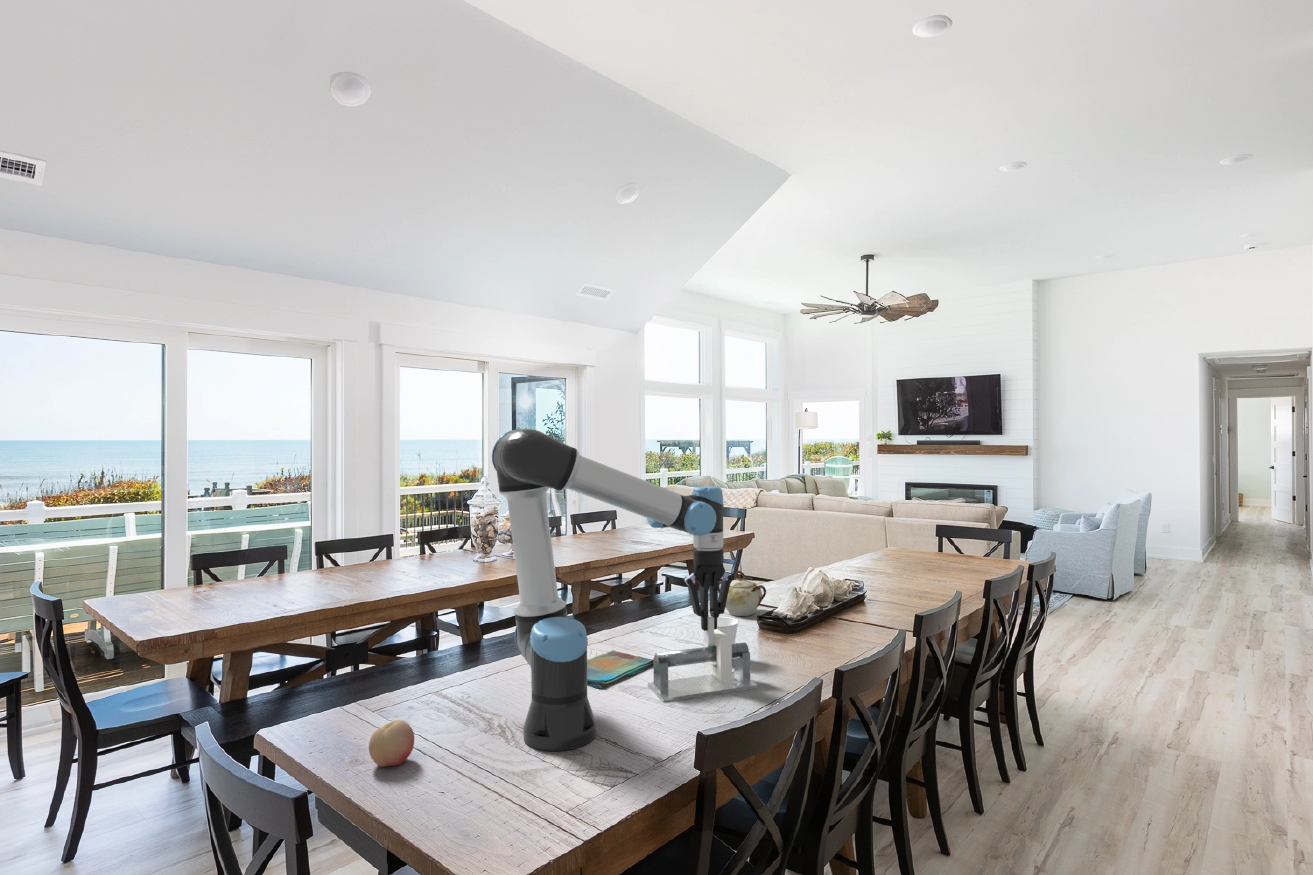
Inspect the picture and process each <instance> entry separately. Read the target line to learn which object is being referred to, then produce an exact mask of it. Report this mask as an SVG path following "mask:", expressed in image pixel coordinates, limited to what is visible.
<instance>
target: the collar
mask: <svg viewBox="0 0 1313 875" xmlns="http://www.w3.org/2000/svg"><path fill="white" fill-rule="evenodd" d="M703 645H704V646H703V647H711V646H713V645H716V646H717V662H715V661H712V662H705V663H703V664H704V667H703V668H704V669H705V670H707V672H709V673H711V675H712V674H713V675H714V676H716V677H717V678H718V679H720V680H727V679H732V672H733V663H732V662H733V659H732V638H731V637H729V636H727V635H726V634H724V633H723V632H721V631H719V630H718V629H714V644H707V643H706V642H704V641H703Z"/></svg>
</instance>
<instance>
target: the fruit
mask: <svg viewBox="0 0 1313 875" xmlns="http://www.w3.org/2000/svg"><path fill="white" fill-rule="evenodd" d="M414 745H415V732H414V730H413V729H412V726H410V724H409V723H407V722H406V720H405V721H404V720H402V719H395V720H391V721H390V722H388V723H386V724H384V725H383V726H380V727H379V728H378V729H376V730H374V732H373V733H372V735H371V737H370V739H369V743H368V753H369V755H370V758H371V759H372V761H373V762H374V763H375V764H376V765H377V766H379V767H383V768H384V767H389V766H390V767H396V766H399V765H401V764H403V763H404V762H405V761H406V760H408V758H409V757H410V755H411V754H412V752H413V749H414Z"/></svg>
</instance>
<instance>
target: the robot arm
mask: <svg viewBox="0 0 1313 875" xmlns="http://www.w3.org/2000/svg"><path fill="white" fill-rule="evenodd" d="M491 462H492V465H493V468H494V470H495V471H496V476H497V484H498V492H499V494H500V495H502V496H503V497H505V498H506V501H507V507H508V516H509V522H510V532H511V538H512V546H513V554H514V556H513V557H514V561H515V562H514V563H515V571H516V579H517V586H518V593H519V601H520V603H519V604H518V606H517V607H516V608H515V609H514V617H515V624H516V625H515V630H514V641H515V646H516V649H517V650H518V652H519V653H520V655H521V657H522V658H524V660H525V661H526V662H527V665H529V667H530V671H531V672H530V674H531V675H530V676H531V677H530V678H531V682H530V683H531V700H530V704H529V708H528V711H527V714H526V718H525V721H524V724H523V732H522V733H523V741H524V743H525V744H526V745H527V746H529V747H531V748H534V749H537V750H542V751H548V752H549V751H550V752H551V751H553V752H559V751H568V750H574V749H577V748H581V747H583V746H586V745H587V744H588V743H590V742H592V741H593V740H594V738H595V737H596V735H597V723H596V719H595V716H594V713H593V710H592V706H591V704H590V701H589V698H588V697H589V696H588V686H587V660H588V645H589V644H588V643H589V641H588V637H587V629H586V627H585V625H584V624H583V623H582V622H581V621H579V620H577V619H574V618H572V619H571V618H570V617H569V616H568V611H567V602H566V601H565V600H563V599H562V598H560V597H559V592H558V583H557V577H556V569H555V560H554V551H553V544H552V536H551V530H550V520H549V512H548V511H549V510H548V503H547V497H546V495H547V492H548V491H549V489H553V490H556V491H559V492H563V491H564V490H570V491H573V492H575V493H578V494H580V495H584V496H587V497H588V498H592V499H595V500H598V501H601V502H603V503H605V504H608V505H611V506H614V507H617V508H619V509H622V510H625V511H628V512H630V513H633V514H636V515H639V516H641V517H643V518H646V519H647V523H648V525H649V526H650V527H651V528H654V529H664V528H670V529H674V530H678V531H680V532H681V531H682V532H685V533H687V534H689V535H692V538H693V541H692V542H693V543H692V544H693V546H692V547H694V549H693V550H692V551H693V568H692V571H691V574H690V575H689V576H684V577H683V582H684V583H685V585H686V586H687V590H688V593H689V594H688V595H689V598H690V602H691V603H690V604H691V608H692V610H693V613H694V614H695V615H696V616H697V617H700V628H701V630H702V631H703V643H704V642H706V643H707V644H714V629H717V618H718V617H720V615H722V614H724V613H725V610H726V608H725V607H726V602H727V597H728V592H729V587H730V584H731V582H732V581H733V580H734V575H732V574H730V573H728V572H726V569H725V567H724V562H725V560H724V558H725V557H724V555H725V554H724V553H725V552H724V550H723V547H724V506H725V505H724V495H723V490H722V488H721V487H719V486H714V485H713V486H712V485H705V486H704V485H701V486H700V485H699V486H694V487H693V489H692V494H688V495H682V494H680V493H678V492H675V491H673V490H670V489H668V488H665V487H663V486H660V485H657V484H654V483H652V482H650V481H647V480H645V479H642V478H639V477H636V476H634V475H632V474H629V473H626V472H624V471H622V470H618V469H616V468H613V467H611V466H608V465H605V464H603V463H600V462H598V461H595V460H593V459H590V458H589V457H585V456H583V455H580V453H579V450H578V449H577V448H575V447H573V446H571V445H568V444H566V443H564V442H561V441H560V440H557V439H555V438H553V437H552V436H549V435H548V434H546V433H544V432H542V431H539V430H537V429H531V428H528V429H527V428H526V429H525V428H524V429H523V428H520V429H519V428H516V429H512V430H508V431H507V432H505V433H504V434H502V435H501V436H500V437H499V438H497V441H496V442H495V444H494V445H493V448H492V453H491ZM720 581H722V583H721V584H720V585H719V586H718V583H719V582H720ZM696 582H697V583H698V588H699V595H698V592H697V588H696V585H695V583H696ZM718 588H720V593H719V592H718Z"/></svg>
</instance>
